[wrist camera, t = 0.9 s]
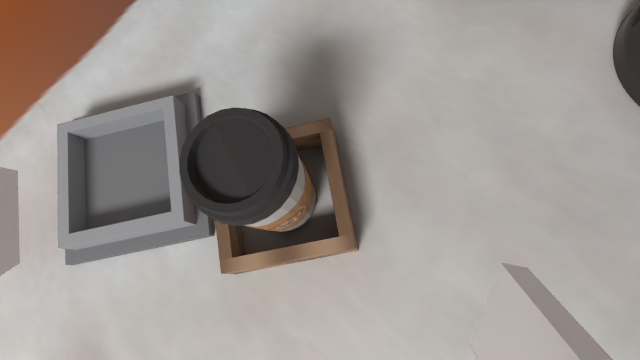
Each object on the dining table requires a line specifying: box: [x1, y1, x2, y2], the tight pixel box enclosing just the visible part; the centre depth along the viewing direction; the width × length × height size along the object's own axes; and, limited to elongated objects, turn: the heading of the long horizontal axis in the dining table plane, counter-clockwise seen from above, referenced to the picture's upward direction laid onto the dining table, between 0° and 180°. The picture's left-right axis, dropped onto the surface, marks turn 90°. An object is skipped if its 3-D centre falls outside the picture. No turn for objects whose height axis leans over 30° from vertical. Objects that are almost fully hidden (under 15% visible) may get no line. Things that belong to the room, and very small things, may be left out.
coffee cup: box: [179, 108, 316, 232], centre depth 34 cm, size 8×8×15 cm
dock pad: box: [57, 92, 214, 265], centre depth 43 cm, size 16×16×4 cm
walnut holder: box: [215, 118, 358, 274], centre depth 40 cm, size 12×12×4 cm
